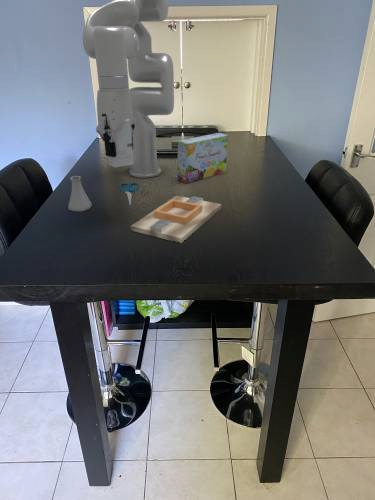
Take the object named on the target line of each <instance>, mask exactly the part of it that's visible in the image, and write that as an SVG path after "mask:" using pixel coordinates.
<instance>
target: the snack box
mask: <svg viewBox="0 0 375 500" xmlns="http://www.w3.org/2000/svg"><path fill="white" fill-rule="evenodd" d="M228 144H229V134H225V133H222V132H216V133H211V134H210V133H209V134H207V135H201V136H196V137H191V138H186V139H182V140H181V139H180V140H178V141H177V180H178V181H179V182H182V183H184V184H189V183H193V182H196V181H200V180H204V179H206V178H210V177H214V176H217V175H221V174H224V173H226V172H227V158H228V146H229V145H228Z"/></svg>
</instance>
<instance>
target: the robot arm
mask: <svg viewBox="0 0 375 500" xmlns="http://www.w3.org/2000/svg"><path fill="white" fill-rule="evenodd" d="M168 13H169V1H168V0H110V1H109V2H107V3H105V4H104V5H101V6H99V8H97V9H95V10H93V11H92V12H91V13H90V14H89V15H88V17H87V19H86V21H85V25H84V28H83V33H82V46H83V50H84V52H85V54H86V55H87V57H89V58H91V59H94V60H95V63H96V70H97V72H96V73H97V81H98V82H97V83H98V90H97V93H96V94H97V95H96V113H97V114H96V115H97V125H96V128H95V131H96V133H98V135H99V137H100V138H101V139H102V141H103V143H104V149H105V150H104V151H105V156H106V157H108V156H109V157H116V156H117V155H116V145H115V142H113V140H114V135H115V131H118V130H121V129H123V127H124V123H125V120H128V119H129V120H130V121H131V136H132V150H133V164H132V165H126V166H127V167H130V169H129V171H128V172H129V175H130V176H132V177H135V178H139V179H140V178H143V179H144V178H145V179H146V178H153V177H157V176H159V175H160V174H162V168H160V167H159V166H158V159H157V158H158V157H157V156H158V155H157V152H158V151H157V135H156V134H157V133H156V131H157V130H156V125H155V124H154V122H153V120H152V119H151V118H150V116H168V115H169V116H170V115H171V114H172V113H173V112H174V110H175V109H174V108H175V87H174V86H175V85H174V84H175V83H174V82H175V81H174V80H175V78H174V76H175V75H174V74H175V72H174V65H173V64H174V62H173V59H172V56H170V55H169V54H168V53H166V52H165V53H164V52H153V50H152V49H153V48H152V47H153V45H152V36H151V33H150V32H149V31H148V28H146V27H145V25H144V24H143V23H146V22H147V23H151V22H152V23H153V22H154V23H157V22H159V23H161V22H164V21H165V20H166V19H167V18H168ZM129 79H130V80H131V81H132V82H134V83H138V84H141V83H143V84H160V86H134V87H131V88H130V87H129V85H130V84H129ZM109 127H110V129H109ZM108 132H109V133H110V136H109V135H108Z"/></svg>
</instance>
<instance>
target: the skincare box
mask: <svg viewBox="0 0 375 500" xmlns="http://www.w3.org/2000/svg"><path fill="white" fill-rule="evenodd" d="M109 129H110V127H109ZM108 135H109V136H110V133H109V132H108ZM113 142H115V145H116V155H117V156H116V157H109V156H107V162H108V164H109V166H112V168H119V167H125V166H126V165H132V164H133V150H132V136H131V121H130V120H129V119H128V120H125V123H124V127H123V129H121V130H118V131H115V135H114V140H113Z"/></svg>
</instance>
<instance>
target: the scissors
mask: <svg viewBox="0 0 375 500" xmlns="http://www.w3.org/2000/svg"><path fill="white" fill-rule="evenodd" d="M122 186H127V188H122ZM131 186H137V187H135V188H132V187H131ZM119 189H120V191H121V192H123V193H125V195H127V199H128V203H129V206H131V203H132V195H133V194H132V193H135V192H138V190H139V183H137V182H131V183H120V184H119Z"/></svg>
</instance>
